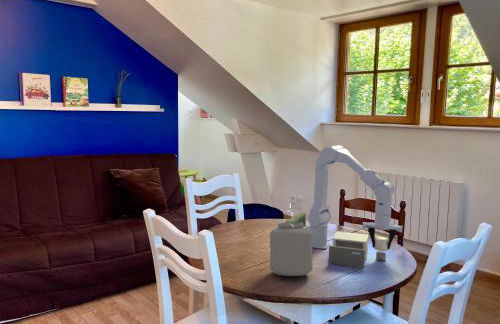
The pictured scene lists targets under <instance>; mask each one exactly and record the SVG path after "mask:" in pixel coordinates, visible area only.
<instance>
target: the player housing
mask: <svg viewBox="0 0 500 324" xmlns="http://www.w3.org/2000/svg"><path fill="white" fill-rule="evenodd" d="M332 246H338V247H346V248H355V249H364V250H365V258H364V261H366V260H367V257H368V251H369V249H368V248H369V234H367V233H366V234H364V233H355V232H348V231H347V232H346V231H336V232H335V233H334V235H333V237H332Z"/></svg>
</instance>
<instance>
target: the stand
mask: <svg viewBox="0 0 500 324" xmlns="http://www.w3.org/2000/svg"><path fill="white" fill-rule="evenodd" d="M386 258H387V252H386V251H379V250H377V251H376V253H375V261H377V262H379V263H384V262H386Z"/></svg>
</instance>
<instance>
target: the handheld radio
mask: <svg viewBox="0 0 500 324" xmlns="http://www.w3.org/2000/svg"><path fill="white" fill-rule="evenodd" d="M292 219H293V220H292ZM284 223H303V227H306V225H307V213H306V212H302V211H301V212H300V213H298V214H297V215H293V216H292V217H291V218H288V219H286V220H285V222H284Z"/></svg>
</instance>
